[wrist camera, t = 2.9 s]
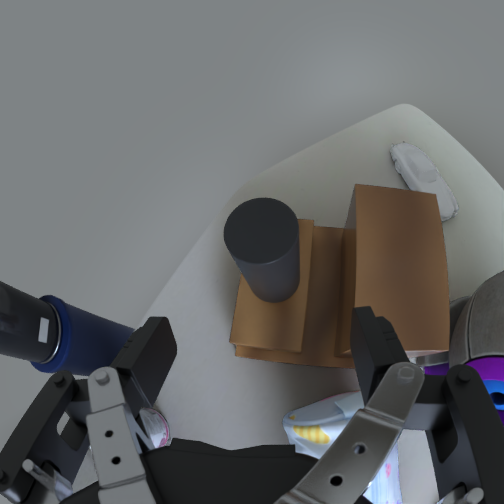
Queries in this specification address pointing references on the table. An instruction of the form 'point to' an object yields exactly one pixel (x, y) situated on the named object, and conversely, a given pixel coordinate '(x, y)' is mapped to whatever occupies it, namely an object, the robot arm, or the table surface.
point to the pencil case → (328, 429)
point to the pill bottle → (155, 427)
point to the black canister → (265, 247)
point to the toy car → (423, 176)
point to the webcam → (476, 339)
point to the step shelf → (356, 284)
